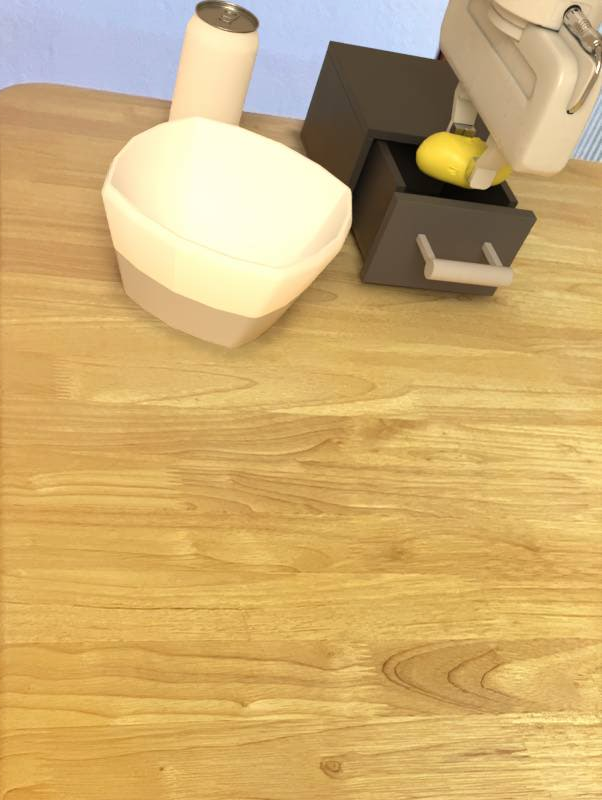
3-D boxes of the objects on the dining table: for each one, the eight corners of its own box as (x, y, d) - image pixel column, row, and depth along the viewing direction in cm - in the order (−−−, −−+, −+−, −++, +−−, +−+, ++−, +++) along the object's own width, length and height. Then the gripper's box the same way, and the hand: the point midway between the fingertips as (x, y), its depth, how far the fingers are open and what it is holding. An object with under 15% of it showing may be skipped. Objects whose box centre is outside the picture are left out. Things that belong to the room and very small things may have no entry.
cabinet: (464, 245, 84) (513, 150, 76) (330, 229, 81) (368, 128, 73) (420, 156, 93) (460, 63, 86) (298, 138, 90) (329, 40, 82)
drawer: (511, 334, 75) (560, 256, 69) (376, 321, 72) (415, 238, 66) (445, 202, 86) (482, 125, 80) (327, 185, 83) (356, 104, 77)
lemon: (408, 157, 74) (427, 111, 71) (498, 182, 74) (521, 138, 71) (409, 182, 71) (428, 136, 68) (502, 208, 72) (526, 163, 69)
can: (154, 150, 82) (179, 14, 73) (177, 122, 86) (204, -11, 77) (218, 175, 82) (252, 42, 73) (238, 146, 86) (273, 16, 77)
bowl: (343, 289, 75) (384, 189, 68) (258, 403, 64) (296, 299, 57) (163, 200, 78) (184, 94, 70) (51, 295, 67) (63, 182, 59)
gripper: (655, 57, 56) (543, 245, 66) (541, -71, 68) (462, 106, 78) (567, 41, 54) (468, 236, 65) (467, -87, 66) (397, 95, 77)
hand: (464, 164), depth 72 cm, fingers closed on lemon, 4 cm apart
